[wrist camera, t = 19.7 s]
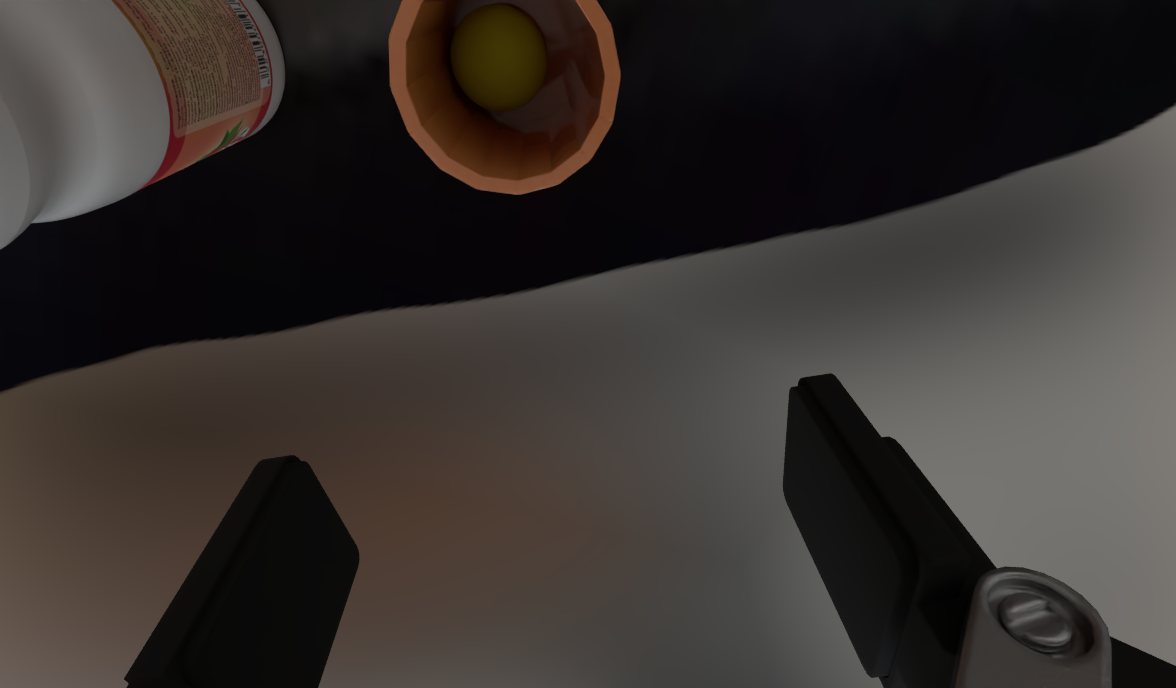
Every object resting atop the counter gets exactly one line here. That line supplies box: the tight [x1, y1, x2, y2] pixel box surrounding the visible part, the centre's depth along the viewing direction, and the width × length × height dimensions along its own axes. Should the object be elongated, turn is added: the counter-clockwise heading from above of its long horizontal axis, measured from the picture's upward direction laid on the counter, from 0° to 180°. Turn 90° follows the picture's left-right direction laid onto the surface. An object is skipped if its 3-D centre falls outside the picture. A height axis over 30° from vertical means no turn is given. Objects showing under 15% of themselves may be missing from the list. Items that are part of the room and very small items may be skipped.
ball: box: [450, 4, 548, 112], centre depth 29 cm, size 5×5×5 cm
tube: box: [389, 0, 621, 195], centre depth 26 cm, size 8×8×13 cm
